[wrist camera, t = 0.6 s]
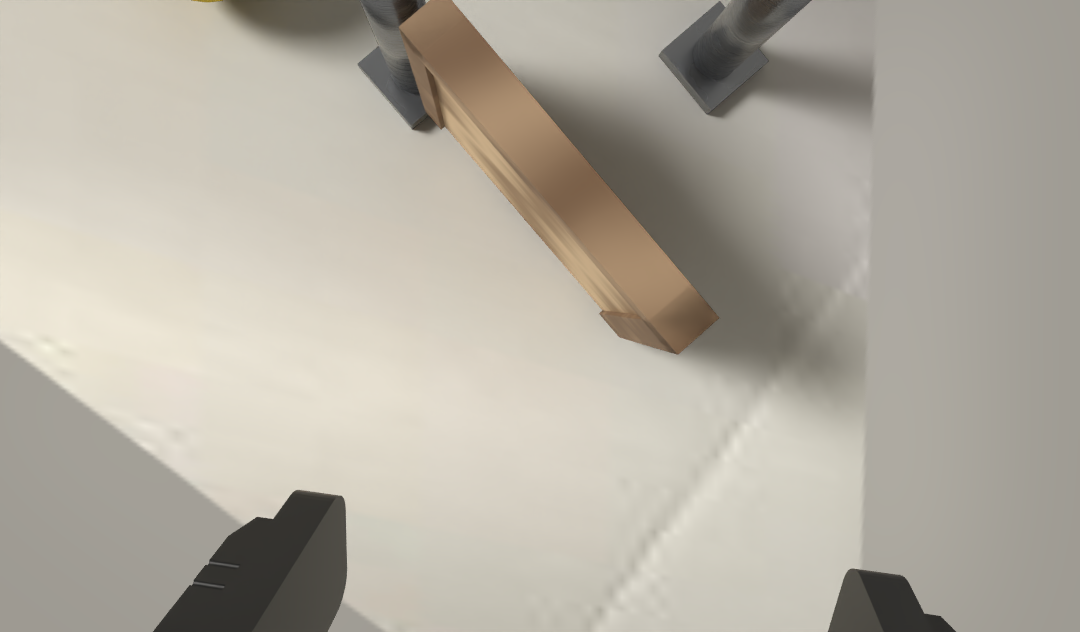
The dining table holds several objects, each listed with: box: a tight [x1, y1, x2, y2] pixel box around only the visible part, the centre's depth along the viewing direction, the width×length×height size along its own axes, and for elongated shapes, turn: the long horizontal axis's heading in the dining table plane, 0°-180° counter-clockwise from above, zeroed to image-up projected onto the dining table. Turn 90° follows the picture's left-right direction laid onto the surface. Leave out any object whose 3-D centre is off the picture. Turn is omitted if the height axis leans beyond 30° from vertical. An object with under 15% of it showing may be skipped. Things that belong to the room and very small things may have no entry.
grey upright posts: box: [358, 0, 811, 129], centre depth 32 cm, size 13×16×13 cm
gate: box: [399, 0, 719, 354], centre depth 31 cm, size 15×2×11 cm, turn 41°
